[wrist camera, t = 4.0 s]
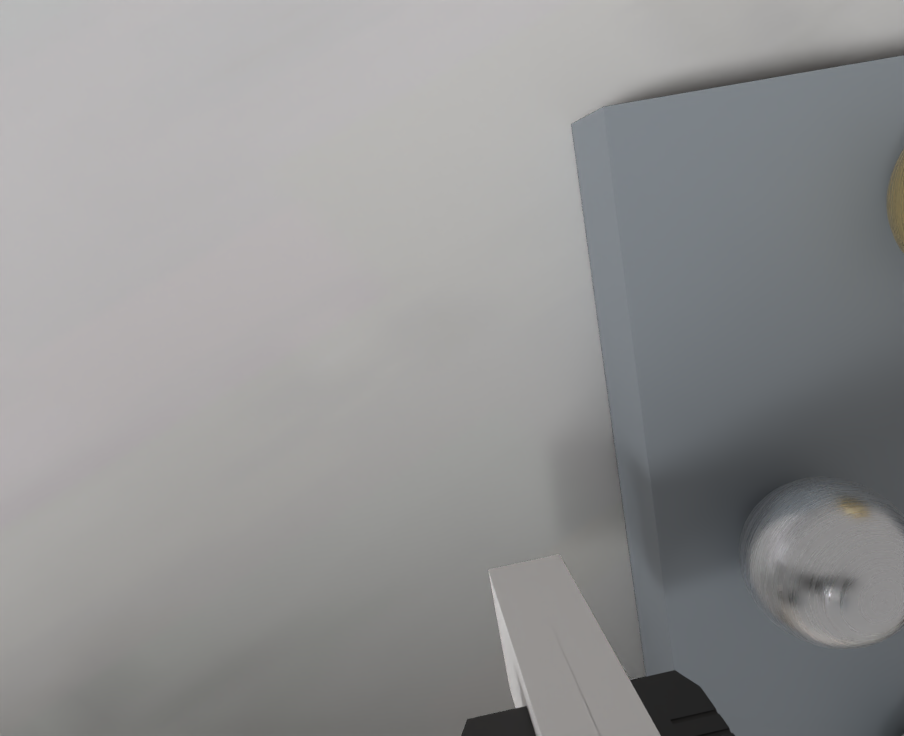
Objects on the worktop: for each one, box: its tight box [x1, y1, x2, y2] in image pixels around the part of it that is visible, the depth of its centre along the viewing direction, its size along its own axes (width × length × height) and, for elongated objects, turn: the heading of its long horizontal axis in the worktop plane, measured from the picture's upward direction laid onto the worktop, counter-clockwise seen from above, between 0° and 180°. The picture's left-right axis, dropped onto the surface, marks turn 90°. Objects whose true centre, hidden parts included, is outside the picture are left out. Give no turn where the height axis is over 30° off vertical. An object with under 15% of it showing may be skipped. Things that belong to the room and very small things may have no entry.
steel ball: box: [739, 477, 904, 649], centre depth 15 cm, size 4×4×4 cm
